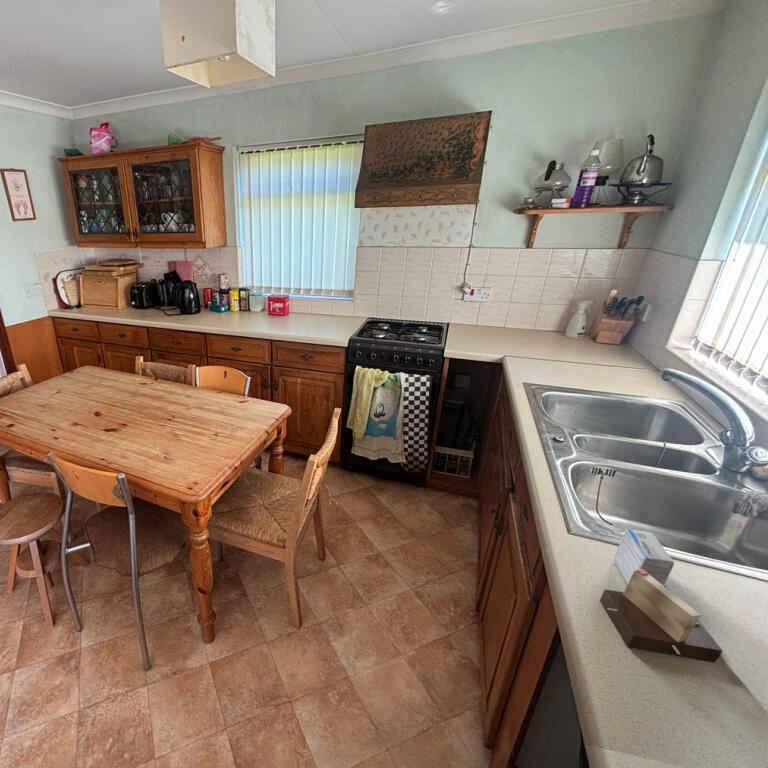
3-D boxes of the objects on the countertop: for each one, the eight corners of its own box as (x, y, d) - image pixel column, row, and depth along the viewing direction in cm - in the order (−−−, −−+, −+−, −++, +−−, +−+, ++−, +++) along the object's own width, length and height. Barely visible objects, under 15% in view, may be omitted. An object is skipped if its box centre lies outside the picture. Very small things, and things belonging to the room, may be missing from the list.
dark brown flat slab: (668, 602, 76) (675, 590, 74) (725, 676, 64) (734, 663, 63) (584, 589, 79) (589, 577, 77) (623, 657, 67) (629, 645, 66)
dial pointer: (686, 640, 66) (702, 614, 64) (677, 642, 66) (693, 615, 63) (630, 593, 74) (642, 567, 72) (622, 594, 74) (634, 569, 71)
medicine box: (658, 598, 76) (676, 563, 73) (629, 591, 78) (645, 557, 74) (638, 565, 83) (653, 532, 80) (611, 560, 85) (625, 527, 81)
